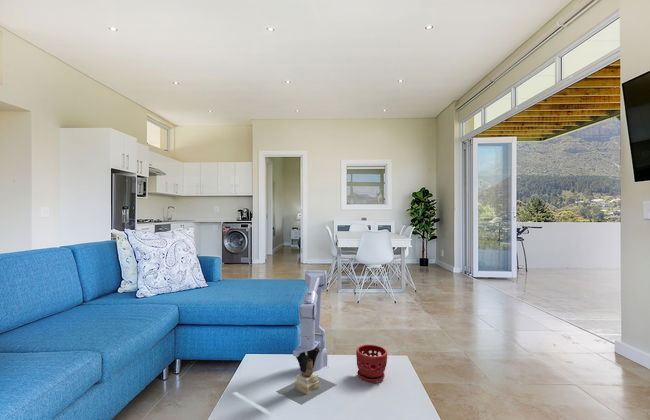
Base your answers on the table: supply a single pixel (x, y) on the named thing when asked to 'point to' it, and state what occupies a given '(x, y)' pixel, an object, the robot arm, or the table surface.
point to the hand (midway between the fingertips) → (307, 369)
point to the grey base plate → (302, 397)
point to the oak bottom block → (307, 389)
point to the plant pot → (371, 363)
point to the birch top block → (307, 379)
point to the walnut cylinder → (308, 368)
